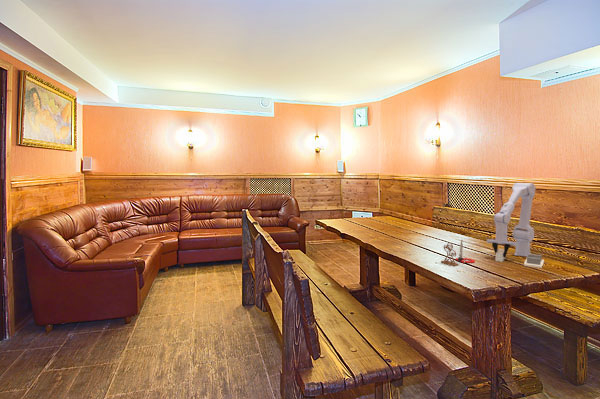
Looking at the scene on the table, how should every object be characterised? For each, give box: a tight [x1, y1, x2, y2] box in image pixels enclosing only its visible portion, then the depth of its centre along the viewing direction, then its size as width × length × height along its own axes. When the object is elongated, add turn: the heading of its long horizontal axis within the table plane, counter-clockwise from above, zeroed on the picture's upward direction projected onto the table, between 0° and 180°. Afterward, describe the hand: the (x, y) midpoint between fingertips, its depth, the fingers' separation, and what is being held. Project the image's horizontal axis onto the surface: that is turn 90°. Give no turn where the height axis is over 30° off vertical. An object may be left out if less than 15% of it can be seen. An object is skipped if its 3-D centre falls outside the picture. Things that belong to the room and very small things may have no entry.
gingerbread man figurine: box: [440, 242, 460, 267], centre depth 183 cm, size 9×4×12 cm, turn 26°
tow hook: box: [454, 239, 476, 264], centre depth 188 cm, size 8×13×9 cm
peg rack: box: [523, 253, 545, 269], centre depth 181 cm, size 16×8×4 cm, turn 140°
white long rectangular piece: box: [494, 248, 507, 263], centre depth 191 cm, size 12×4×5 cm, turn 140°
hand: (500, 256), depth 191 cm, fingers closed on white long rectangular piece, 3 cm apart
